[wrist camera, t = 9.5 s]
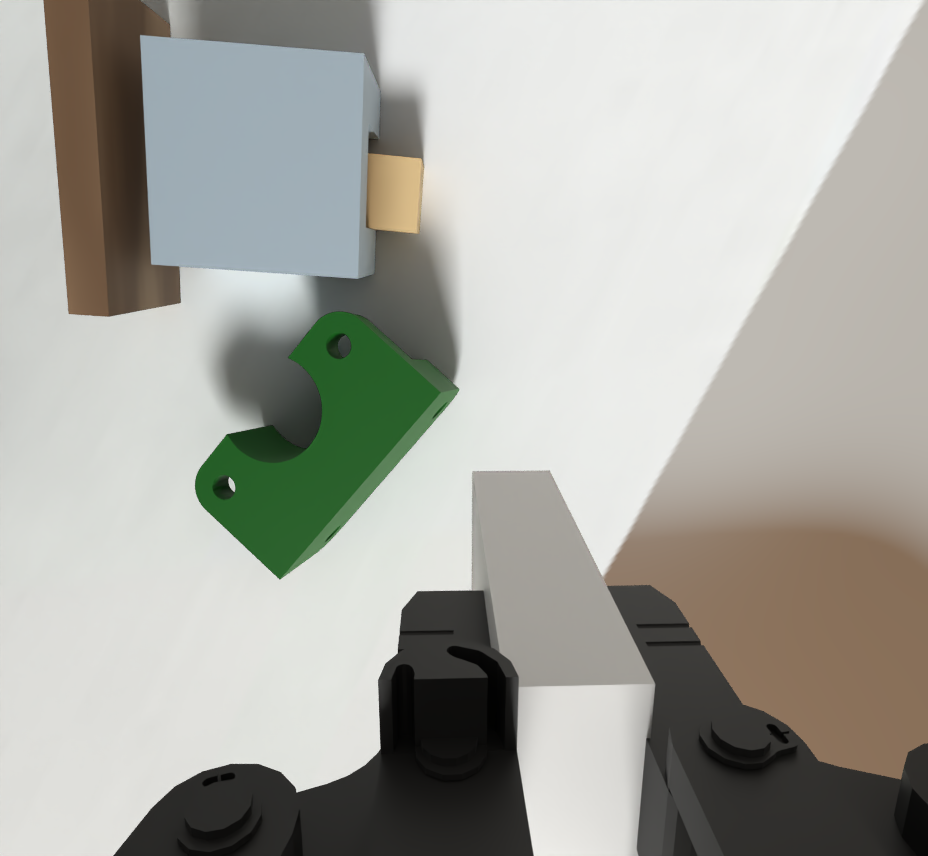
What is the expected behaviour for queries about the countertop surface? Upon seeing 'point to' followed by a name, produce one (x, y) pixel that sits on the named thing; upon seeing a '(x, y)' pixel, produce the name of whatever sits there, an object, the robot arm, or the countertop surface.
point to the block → (258, 156)
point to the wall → (104, 155)
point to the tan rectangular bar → (394, 193)
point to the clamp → (324, 445)
